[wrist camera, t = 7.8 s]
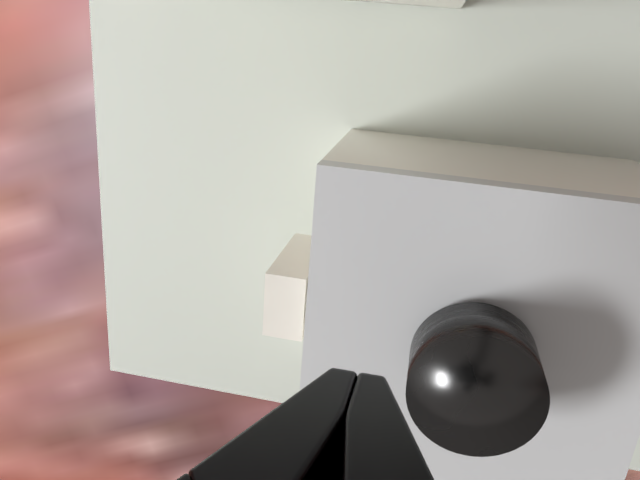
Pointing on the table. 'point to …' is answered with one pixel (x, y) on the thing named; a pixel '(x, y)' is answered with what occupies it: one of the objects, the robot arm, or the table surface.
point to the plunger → (476, 380)
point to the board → (308, 142)
